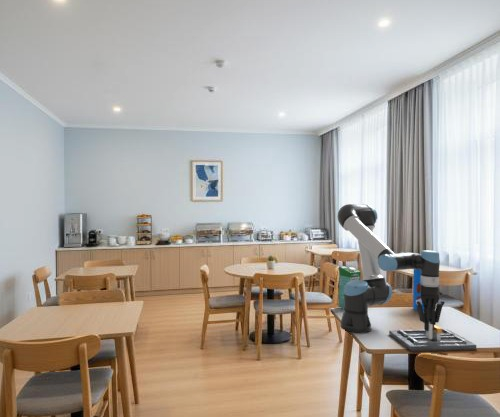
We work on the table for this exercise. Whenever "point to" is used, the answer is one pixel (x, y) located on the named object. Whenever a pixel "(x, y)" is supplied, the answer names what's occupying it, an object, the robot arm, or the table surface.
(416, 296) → the thermos
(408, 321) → the table surface
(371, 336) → the table surface
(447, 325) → the table surface
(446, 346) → the console
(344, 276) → the milk carton
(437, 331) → the fader
